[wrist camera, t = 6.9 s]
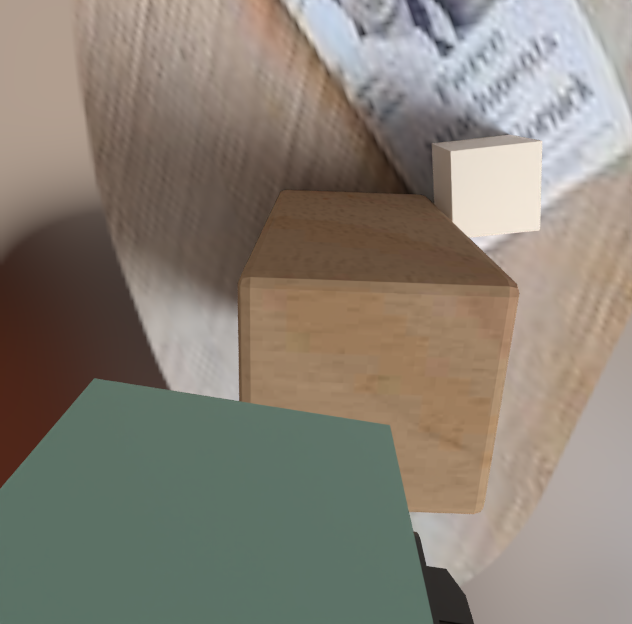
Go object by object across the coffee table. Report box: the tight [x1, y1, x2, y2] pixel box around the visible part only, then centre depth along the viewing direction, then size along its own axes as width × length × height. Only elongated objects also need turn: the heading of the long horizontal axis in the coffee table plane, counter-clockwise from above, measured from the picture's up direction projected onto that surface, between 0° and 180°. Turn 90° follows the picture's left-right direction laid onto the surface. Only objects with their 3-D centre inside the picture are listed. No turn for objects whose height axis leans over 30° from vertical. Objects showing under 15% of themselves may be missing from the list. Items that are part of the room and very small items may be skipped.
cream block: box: [432, 135, 542, 238], centre depth 35 cm, size 5×5×6 cm
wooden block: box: [238, 190, 519, 514], centre depth 31 cm, size 10×10×20 cm
